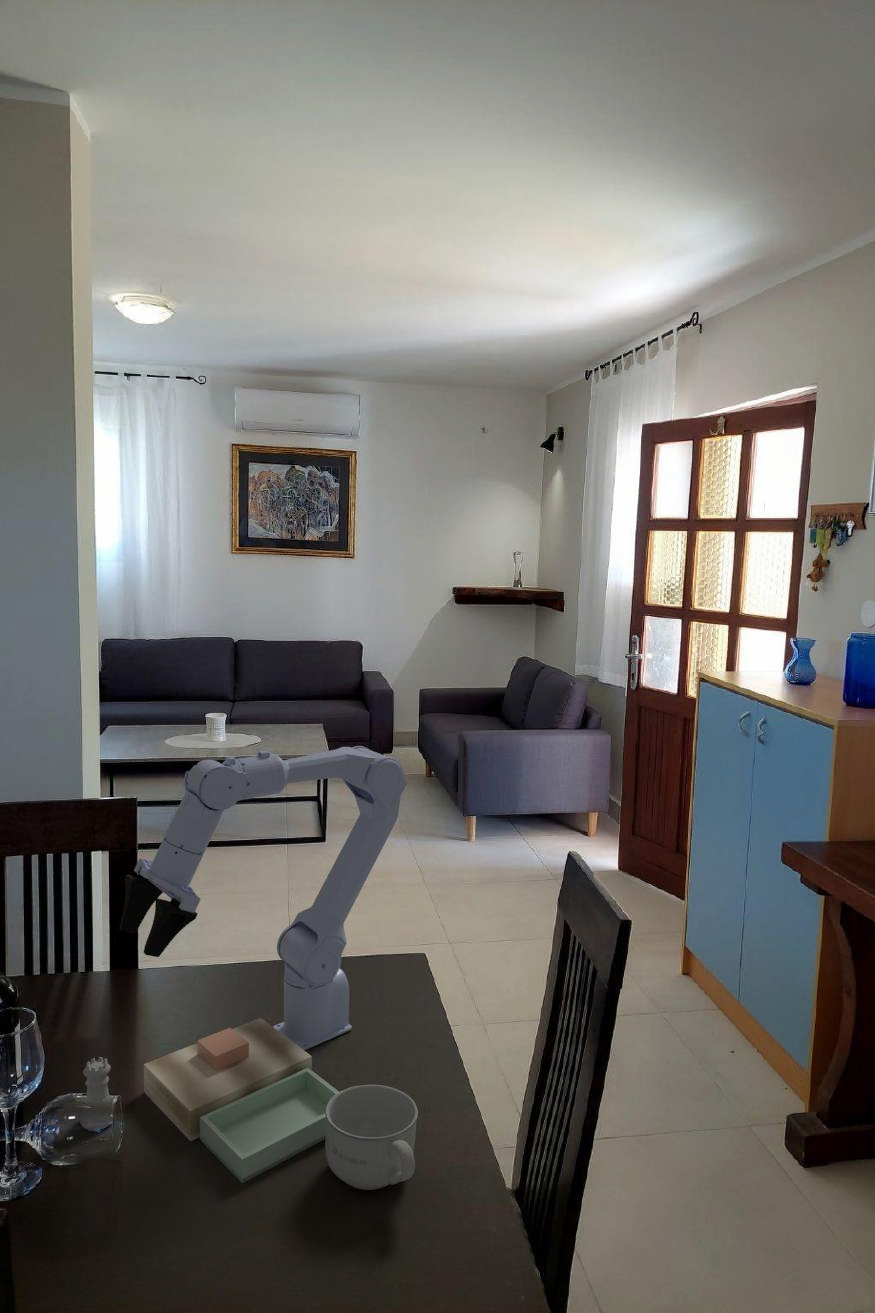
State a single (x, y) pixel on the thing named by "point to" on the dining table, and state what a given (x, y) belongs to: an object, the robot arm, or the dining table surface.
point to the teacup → (371, 1136)
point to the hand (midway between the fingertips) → (138, 943)
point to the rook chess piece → (97, 1079)
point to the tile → (222, 1048)
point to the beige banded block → (220, 1076)
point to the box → (268, 1124)
